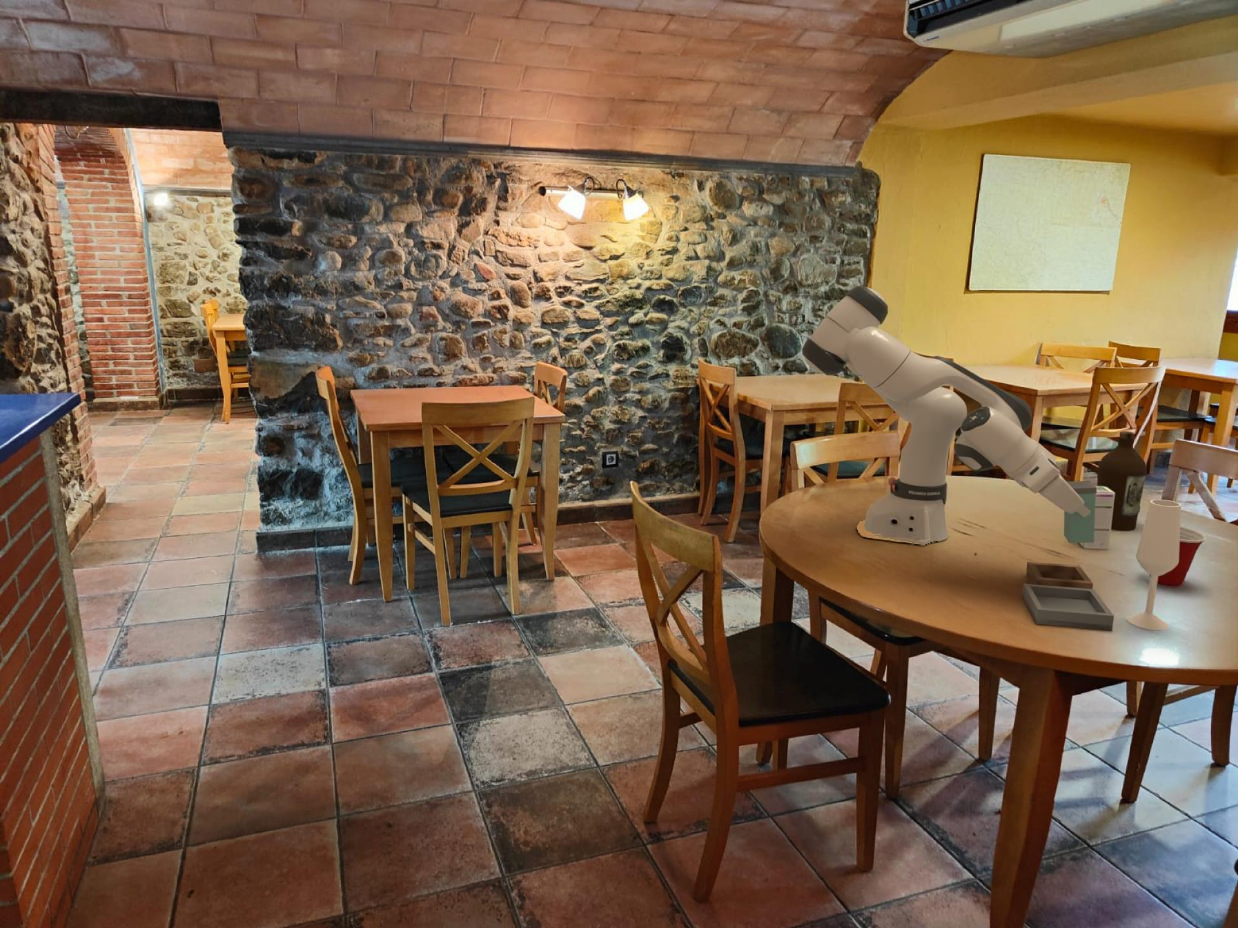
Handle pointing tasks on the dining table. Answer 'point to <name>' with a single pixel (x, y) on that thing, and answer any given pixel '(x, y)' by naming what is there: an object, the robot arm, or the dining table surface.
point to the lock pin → (1076, 524)
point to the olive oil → (1123, 481)
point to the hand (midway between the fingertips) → (1082, 509)
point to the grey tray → (1067, 607)
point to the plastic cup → (1183, 557)
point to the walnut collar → (1057, 575)
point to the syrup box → (1102, 518)
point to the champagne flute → (1158, 554)
